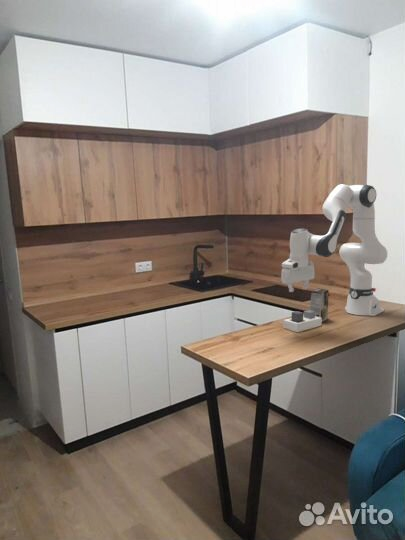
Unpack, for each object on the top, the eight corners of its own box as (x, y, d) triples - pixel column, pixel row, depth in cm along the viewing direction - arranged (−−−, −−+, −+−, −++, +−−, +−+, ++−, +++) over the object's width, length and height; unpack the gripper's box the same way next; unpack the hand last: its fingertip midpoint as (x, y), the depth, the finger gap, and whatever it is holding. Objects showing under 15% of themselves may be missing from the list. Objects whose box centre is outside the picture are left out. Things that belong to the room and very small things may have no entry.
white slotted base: (307, 321, 215) (307, 308, 214) (321, 325, 208) (321, 312, 207) (283, 327, 205) (283, 314, 204) (296, 332, 198) (297, 318, 196)
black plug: (296, 324, 207) (297, 311, 206) (303, 326, 203) (303, 312, 202) (291, 325, 204) (291, 312, 203) (297, 327, 201) (297, 314, 200)
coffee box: (316, 316, 223) (317, 287, 221) (327, 319, 219) (329, 289, 217) (309, 320, 216) (310, 290, 214) (320, 322, 212) (322, 292, 210)
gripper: (308, 259, 207) (307, 286, 209) (279, 263, 196) (278, 292, 198) (318, 261, 202) (317, 288, 204) (289, 265, 191) (288, 294, 193)
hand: (298, 290), depth 201 cm, fingers open, 8 cm apart
